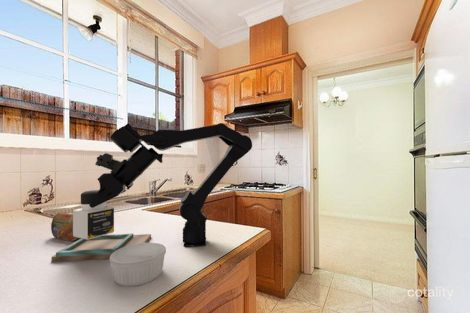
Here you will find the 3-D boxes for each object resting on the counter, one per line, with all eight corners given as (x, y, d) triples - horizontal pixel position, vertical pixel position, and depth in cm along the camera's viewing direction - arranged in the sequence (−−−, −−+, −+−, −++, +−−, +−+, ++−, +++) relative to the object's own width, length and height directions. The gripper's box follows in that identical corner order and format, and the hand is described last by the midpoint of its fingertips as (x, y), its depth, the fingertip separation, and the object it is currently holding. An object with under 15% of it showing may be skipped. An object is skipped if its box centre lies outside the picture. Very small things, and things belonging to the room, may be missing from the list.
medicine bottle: (87, 240, 56) (87, 192, 56) (72, 236, 59) (72, 191, 59) (114, 232, 62) (114, 189, 62) (99, 229, 65) (99, 188, 66)
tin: (49, 237, 74) (50, 212, 75) (60, 235, 77) (60, 210, 78) (79, 243, 69) (79, 215, 69) (89, 240, 72) (89, 213, 72)
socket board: (151, 237, 73) (151, 231, 73) (134, 257, 57) (135, 248, 58) (86, 240, 71) (86, 233, 71) (51, 261, 55) (51, 252, 55)
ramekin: (105, 295, 41) (106, 266, 41) (112, 269, 51) (112, 246, 51) (168, 282, 45) (168, 256, 45) (163, 261, 55) (163, 239, 56)
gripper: (122, 147, 72) (82, 182, 68) (107, 140, 54) (53, 188, 50) (148, 170, 74) (111, 206, 70) (142, 171, 56) (92, 219, 53)
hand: (94, 204), depth 61 cm, fingers closed on medicine bottle, 6 cm apart
